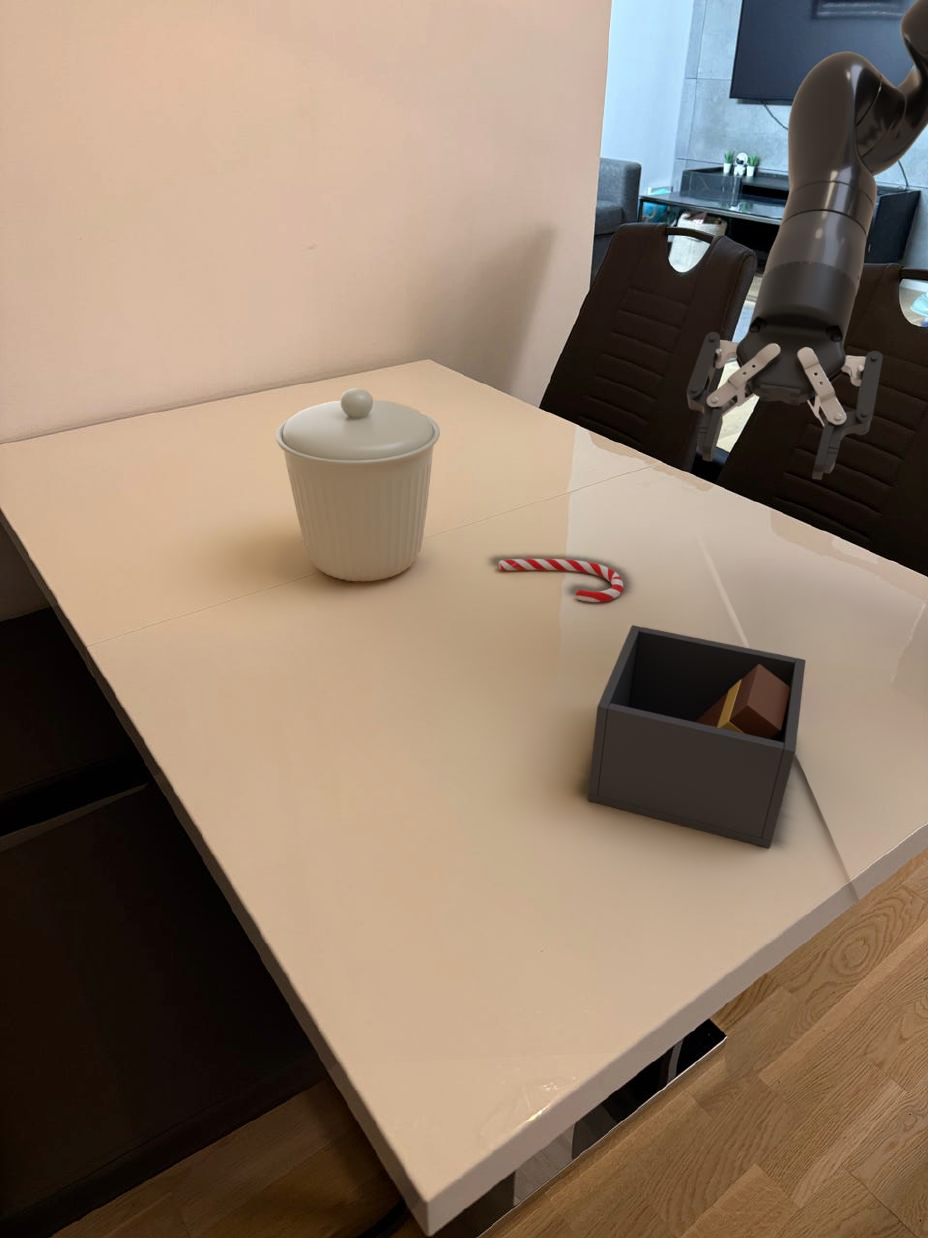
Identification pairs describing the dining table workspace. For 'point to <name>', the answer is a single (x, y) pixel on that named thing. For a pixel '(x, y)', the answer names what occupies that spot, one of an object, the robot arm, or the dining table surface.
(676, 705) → the waste bin
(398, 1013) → the dining table surface
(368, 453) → the canister
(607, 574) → the candy cane
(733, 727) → the chocolate box
